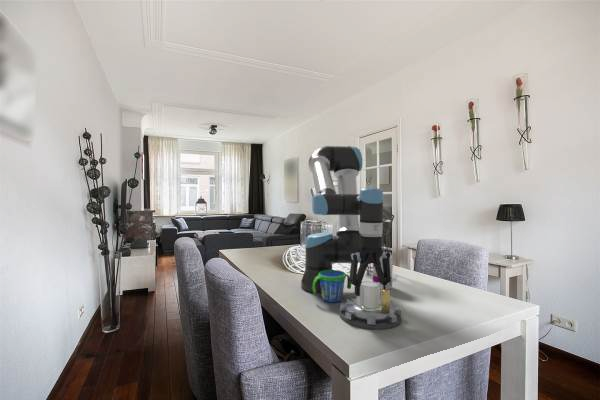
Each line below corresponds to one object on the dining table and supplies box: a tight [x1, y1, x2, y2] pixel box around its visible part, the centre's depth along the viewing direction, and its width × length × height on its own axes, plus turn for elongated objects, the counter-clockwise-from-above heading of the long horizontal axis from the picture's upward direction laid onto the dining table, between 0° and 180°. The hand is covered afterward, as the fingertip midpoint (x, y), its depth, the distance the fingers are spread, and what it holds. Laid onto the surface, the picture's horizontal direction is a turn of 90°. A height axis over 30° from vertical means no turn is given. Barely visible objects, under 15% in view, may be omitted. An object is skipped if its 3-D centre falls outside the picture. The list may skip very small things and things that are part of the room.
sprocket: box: [339, 289, 402, 325], centre depth 99 cm, size 20×20×9 cm
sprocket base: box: [338, 310, 403, 331], centre depth 99 cm, size 20×20×1 cm
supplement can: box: [372, 251, 394, 290], centre depth 130 cm, size 8×8×15 cm
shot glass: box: [361, 281, 381, 308], centre depth 99 cm, size 7×7×7 cm
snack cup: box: [312, 269, 352, 303], centre depth 114 cm, size 16×10×10 cm
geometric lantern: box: [365, 208, 395, 276], centre depth 151 cm, size 16×16×35 cm
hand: (369, 304), depth 99 cm, fingers closed on shot glass, 7 cm apart
